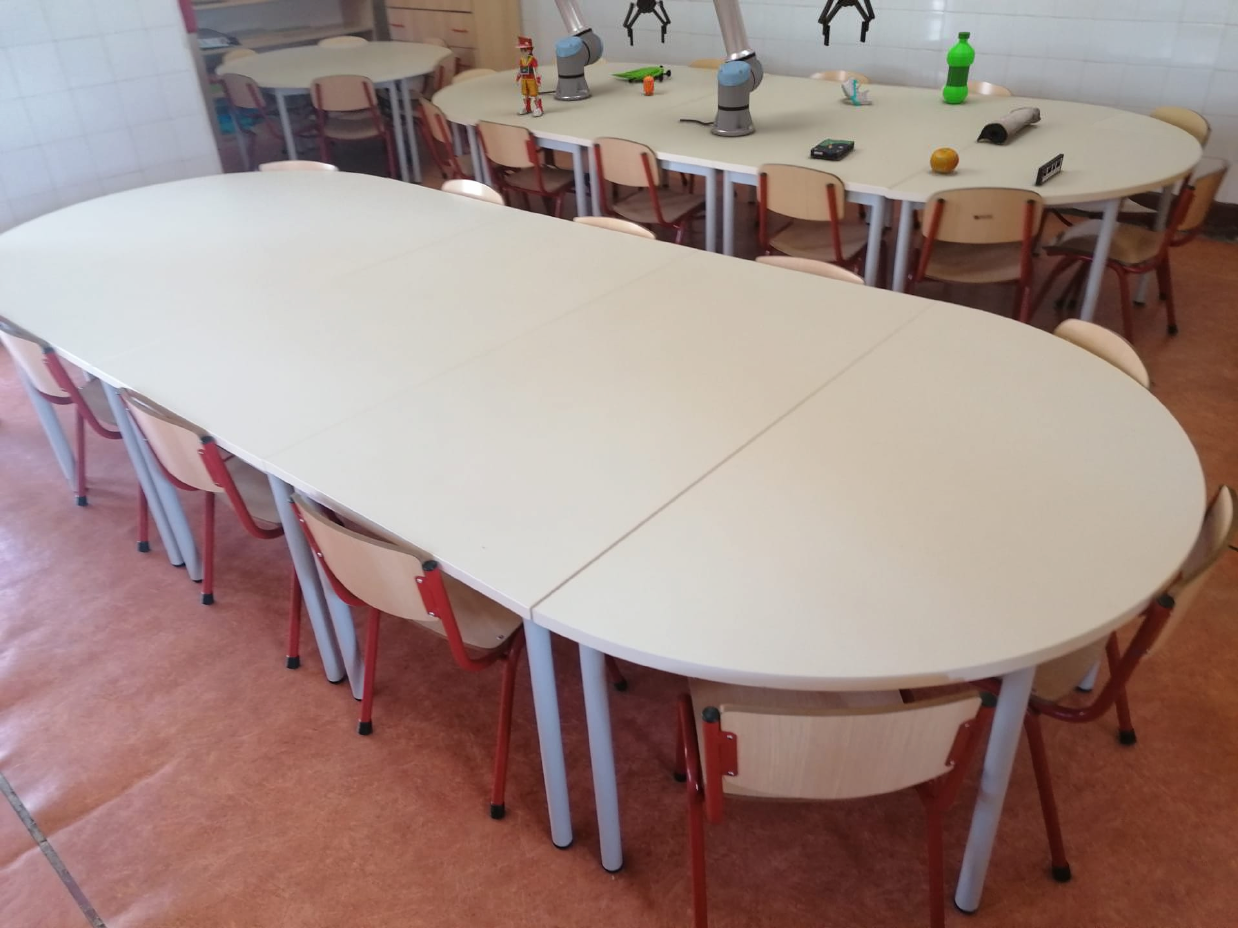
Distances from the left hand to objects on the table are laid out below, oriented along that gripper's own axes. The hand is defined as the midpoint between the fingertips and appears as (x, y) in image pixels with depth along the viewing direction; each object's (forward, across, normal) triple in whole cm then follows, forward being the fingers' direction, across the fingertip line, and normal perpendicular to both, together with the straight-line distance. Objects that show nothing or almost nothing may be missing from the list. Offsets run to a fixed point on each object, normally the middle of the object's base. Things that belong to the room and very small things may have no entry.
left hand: (647, 44), depth 381 cm
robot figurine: (+20, 0, 0) cm, 20 cm away
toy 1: (+20, +54, +13) cm, 59 cm away
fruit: (+20, -64, +143) cm, 158 cm away
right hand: (-9, -54, +81) cm, 98 cm away
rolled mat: (+19, -105, +112) cm, 155 cm away
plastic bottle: (+20, -110, +64) cm, 129 cm away
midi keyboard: (+19, -90, +160) cm, 184 cm away
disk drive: (+20, -39, +112) cm, 120 cm away
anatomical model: (+20, -75, +48) cm, 91 cm away
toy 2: (+20, -2, -35) cm, 40 cm away
